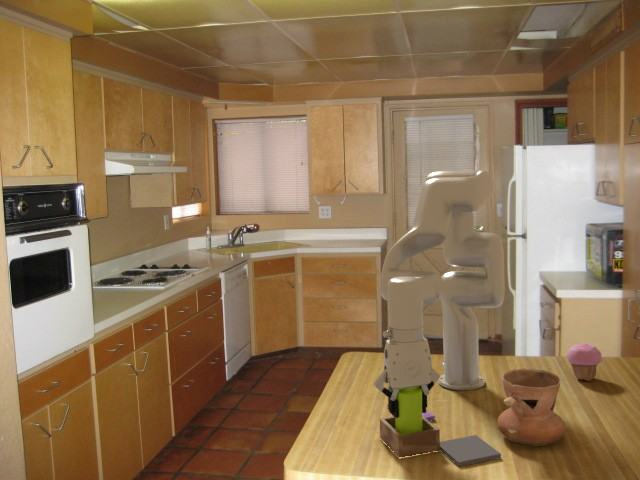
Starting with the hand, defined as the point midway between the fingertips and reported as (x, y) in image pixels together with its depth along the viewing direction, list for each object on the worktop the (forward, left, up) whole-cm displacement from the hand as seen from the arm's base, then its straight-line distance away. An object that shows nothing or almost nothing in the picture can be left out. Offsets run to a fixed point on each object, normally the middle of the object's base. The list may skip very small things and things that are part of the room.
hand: (408, 412), depth 145 cm
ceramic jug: (+7, +27, -8) cm, 29 cm away
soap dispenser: (0, 0, -8) cm, 8 cm away
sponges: (-16, +8, -8) cm, 20 cm away
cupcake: (-19, +62, -8) cm, 65 cm away
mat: (+8, +10, -8) cm, 15 cm away
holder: (0, 0, -8) cm, 8 cm away
